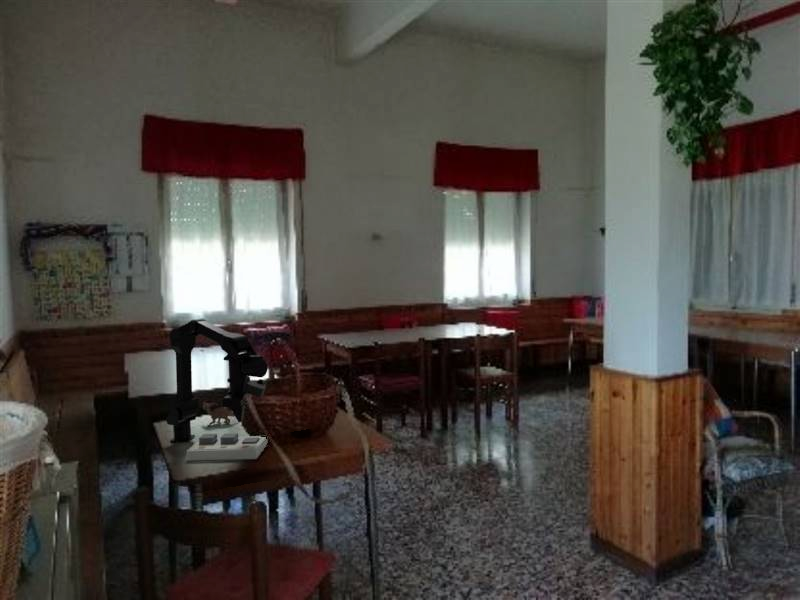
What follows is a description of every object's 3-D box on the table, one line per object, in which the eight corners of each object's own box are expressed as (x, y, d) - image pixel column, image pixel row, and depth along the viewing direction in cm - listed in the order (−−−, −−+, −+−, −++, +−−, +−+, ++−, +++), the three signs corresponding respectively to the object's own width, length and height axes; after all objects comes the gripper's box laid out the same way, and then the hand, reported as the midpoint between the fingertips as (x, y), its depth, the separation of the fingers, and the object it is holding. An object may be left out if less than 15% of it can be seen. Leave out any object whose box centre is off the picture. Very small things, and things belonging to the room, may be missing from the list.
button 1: (204, 441, 200) (203, 434, 200) (217, 441, 200) (216, 433, 200) (199, 445, 196) (198, 438, 196) (212, 445, 196) (212, 437, 196)
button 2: (246, 445, 200) (246, 437, 200) (259, 444, 200) (259, 437, 200) (242, 449, 196) (242, 441, 196) (256, 449, 196) (255, 441, 195)
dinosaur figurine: (199, 427, 228) (198, 402, 227) (203, 422, 233) (202, 399, 233) (237, 425, 229) (235, 400, 228) (239, 420, 234) (238, 397, 234)
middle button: (225, 441, 200) (224, 433, 200) (238, 440, 200) (237, 433, 200) (220, 445, 196) (220, 437, 196) (234, 444, 196) (233, 437, 196)
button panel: (202, 446, 204) (202, 436, 204) (267, 444, 203) (267, 434, 203) (186, 460, 190) (186, 449, 190) (256, 458, 189) (256, 448, 189)
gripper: (255, 380, 187) (257, 430, 188) (269, 368, 205) (271, 413, 207) (219, 380, 187) (221, 430, 188) (237, 368, 206) (238, 413, 207)
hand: (240, 421), depth 198 cm, fingers closed
